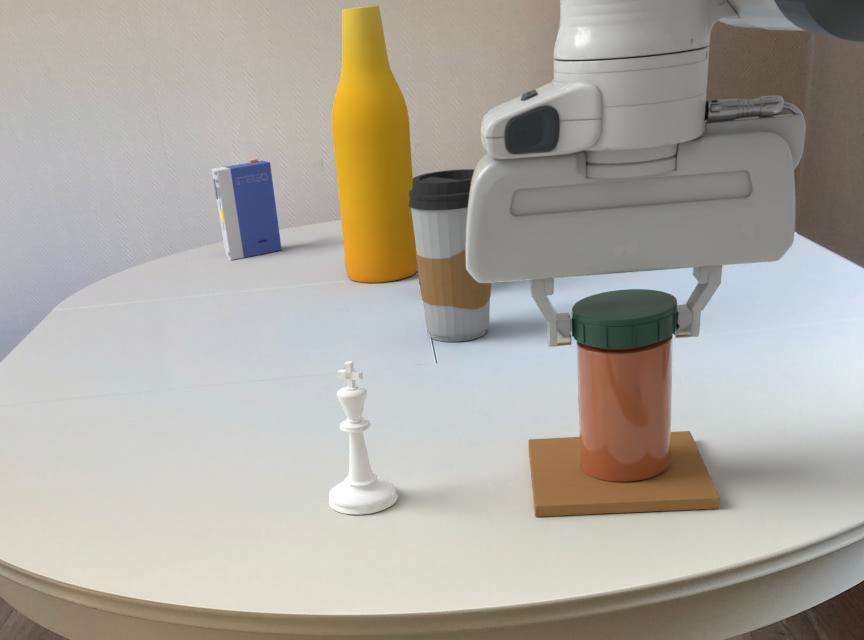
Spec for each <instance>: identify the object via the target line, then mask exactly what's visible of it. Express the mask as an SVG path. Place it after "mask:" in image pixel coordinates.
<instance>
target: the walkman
mask: <svg viewBox="0 0 864 640" xmlns="http://www.w3.org/2000/svg"><path fill="white" fill-rule="evenodd" d="M211 173H212V178H213V179H212V182H213V189H214V196H215V200H216V205H217V209H218V216H219V222H220V229H221V235H222V243H223V247H224V254H225V258H227V260H229V261H234V260H235V261H236V260H239V259H244V258H249V257H254V256H255V257H256V256H259V255H264V254H269V253H274V252H280V251H283V250H282V242H281V235H280V227H279V220H278V219H279V218H278V213H277V205H276V197H275V189H274V183H273V182H274V181H273V175H272V174H273V173H272V167H271V162H270V161H265V160H259V159H258V158H254V159H253V158H252V159H248V162H245V163H239V164H234V165H227V166H221V167H215V168H211Z"/></svg>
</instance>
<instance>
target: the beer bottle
mask: <svg viewBox="0 0 864 640" xmlns="http://www.w3.org/2000/svg"><path fill="white" fill-rule="evenodd" d="M382 21H383V20H382V15H381V11H380V6H379V5H370V6H359V7H350V8H349V7H348V8H343V9H341V72H340V78H339V80H338V85H337V87H336V91H335V94H334V98H333V103H332V108H331V121H330V122H331V135H332V141H333V142H332V143H333V153H334V163H335V172H336V173H335V174H336V181H337V182H336V183H337V192H338V201H339V213H340V221H341V230H342V240H343V241H342V242H343V254H344V255H343V256H344V266H345V272H346V275H347V276H348V278H349V279H350V280H351V281H353V282H358V283H365V284H366V283H367V284H375V283H378V284H379V283H387V282H396V281H399V280H404V279H407V278H409V277H413V276H414V275H415V274H416V273H417V272H418V265H417V258H416V243H415V235H414V227H413V219H412V212H411V207H409V200H410V197H409V191H410V190H412V182H413V178H414V177H413V162H412V146H411V133H410V130H411V129H410V116H409V111H408V106H407V103H406V99H405V97H404V95H403V92H402V90H401V87H400V85H399V84H398V82H397V80H396V77H395V75H394V74H393V71H392V69H391V65H390V61H389V55H388V51H387V45H386V40H385V33H384V27H383V22H382Z"/></svg>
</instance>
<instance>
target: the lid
mask: <svg viewBox="0 0 864 640" xmlns="http://www.w3.org/2000/svg"><path fill="white" fill-rule="evenodd" d="M677 305H678V300H677V297H675V296H674V295H672V293H671V294H670V293H668V292H665V291H661V290H656V289H645V288H631V289H630V288H629V289H628V288H627V289H617V290H609V291H604V292H599V293H595V294H592V295H589V296H586V297H584V298H582V299H580V300H578V301H576V302H575V303H574V304H573V305H572V308H571V338H573V339H574V340H575V341H576V342H577V341H578V342H579V343H582V344H584V345H588V346H593V347H600V348H629V347H637V346H643V345H648V344H652V343H656V342H659V341H662V340H664V339H666V338H668V337H670V336H671V335H673V334H674V332H676V326H677Z"/></svg>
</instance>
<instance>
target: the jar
mask: <svg viewBox="0 0 864 640" xmlns="http://www.w3.org/2000/svg"><path fill="white" fill-rule="evenodd" d="M673 336H674V335H673V334H672V335H671V336H670V337H668V338H666V339H664V340H662V341H659V342H656V343H652V344H648V345H643V346H637V347H629V348H600V347H593V346H588V345H584V344H582V343H579V342H578V341H576V363H577V366H576V367H577V369H576V370H577V399H578V432H579V434H578V435H579V436H578V437H579V438H580V466H581V469H582V470H583V472H585V473H586V474H587V475H589V476H591V477H593V478H596V479H600V480H605V481H613V482H628V481H637V480H643V479H647V478H650V477H653V476H656V475H658V474H660V473H662V472H663V471H664V470H666V469H667V467H668V466H669V464H670V447H671V432H672V398H673V397H672V394H673V393H672V392H673V391H672V390H673V382H672V381H673V348H674V347H673V343H674V341H673V339H674V337H673Z"/></svg>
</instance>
